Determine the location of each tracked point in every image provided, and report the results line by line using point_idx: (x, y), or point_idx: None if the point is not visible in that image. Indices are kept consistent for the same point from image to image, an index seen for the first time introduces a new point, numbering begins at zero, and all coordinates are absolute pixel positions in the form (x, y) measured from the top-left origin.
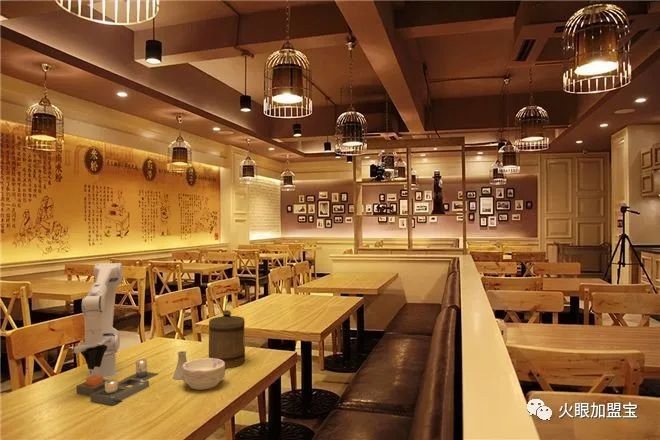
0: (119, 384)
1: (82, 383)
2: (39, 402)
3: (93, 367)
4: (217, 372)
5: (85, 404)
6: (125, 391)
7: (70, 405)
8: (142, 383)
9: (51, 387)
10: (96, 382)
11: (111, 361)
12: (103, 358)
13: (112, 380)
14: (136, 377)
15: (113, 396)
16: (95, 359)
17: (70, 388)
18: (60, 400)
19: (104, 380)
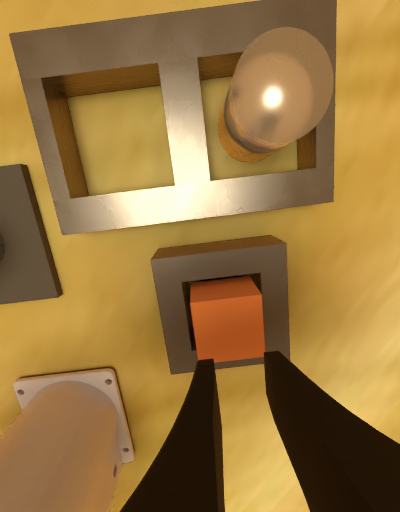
0: (152, 188)
1: (256, 360)
2: (387, 382)
3: (280, 357)
4: None
5: (345, 192)
6: (221, 19)
7: (375, 246)
8: (64, 39)
9: (265, 470)
10: (238, 288)
11: (17, 453)
12: (48, 505)
13: (262, 102)
14: (3, 251)
15: (314, 20)
16: (220, 457)
17: (242, 408)
18: (347, 332)
19: (174, 299)
